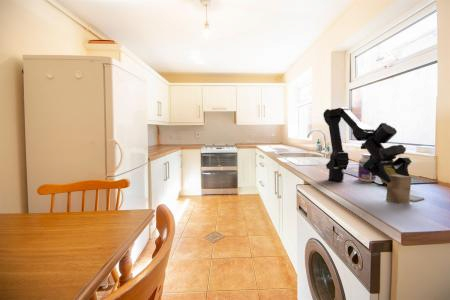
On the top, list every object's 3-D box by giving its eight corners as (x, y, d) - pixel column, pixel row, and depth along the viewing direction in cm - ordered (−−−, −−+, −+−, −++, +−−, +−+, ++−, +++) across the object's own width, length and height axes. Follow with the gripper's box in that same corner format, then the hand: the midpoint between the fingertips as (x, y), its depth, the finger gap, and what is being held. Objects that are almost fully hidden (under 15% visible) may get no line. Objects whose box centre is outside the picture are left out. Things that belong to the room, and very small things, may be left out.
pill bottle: (370, 179, 125) (372, 153, 123) (378, 182, 117) (380, 155, 115) (354, 178, 125) (356, 153, 124) (362, 182, 117) (364, 155, 116)
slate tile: (390, 196, 93) (390, 194, 93) (401, 193, 96) (401, 192, 96) (413, 201, 86) (413, 200, 86) (424, 199, 89) (424, 197, 89)
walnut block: (386, 199, 89) (388, 174, 88) (396, 198, 90) (398, 174, 89) (398, 203, 84) (400, 177, 83) (409, 202, 85) (411, 176, 84)
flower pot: (407, 187, 107) (408, 169, 106) (388, 187, 107) (390, 168, 107) (393, 183, 116) (395, 166, 115) (376, 182, 116) (378, 165, 115)
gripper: (370, 137, 87) (395, 170, 78) (408, 137, 91) (436, 169, 82) (353, 155, 96) (374, 187, 86) (389, 154, 100) (412, 185, 90)
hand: (399, 181), depth 86 cm, fingers open, 9 cm apart
